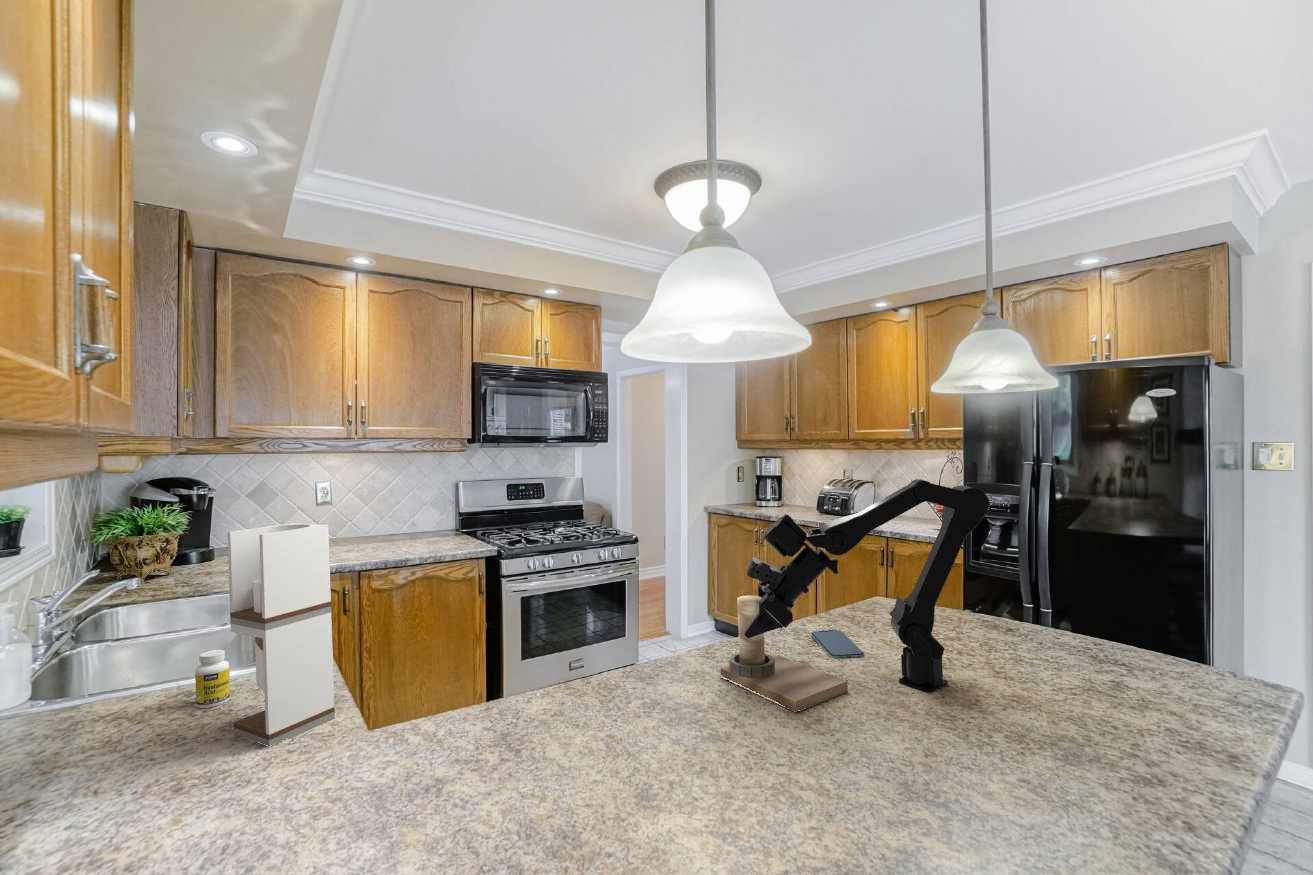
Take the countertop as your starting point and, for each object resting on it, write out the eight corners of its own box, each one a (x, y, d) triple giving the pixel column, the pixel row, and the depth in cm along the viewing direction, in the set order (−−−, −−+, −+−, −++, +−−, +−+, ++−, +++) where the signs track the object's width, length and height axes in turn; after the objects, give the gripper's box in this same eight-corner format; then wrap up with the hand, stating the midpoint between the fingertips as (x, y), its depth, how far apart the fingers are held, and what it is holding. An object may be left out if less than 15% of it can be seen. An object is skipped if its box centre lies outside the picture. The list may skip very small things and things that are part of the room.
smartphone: (831, 655, 130) (809, 630, 145) (831, 663, 130) (810, 637, 145) (866, 653, 130) (841, 629, 145) (866, 661, 130) (841, 636, 145)
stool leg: (768, 666, 122) (765, 596, 121) (761, 675, 117) (758, 603, 117) (744, 662, 124) (741, 594, 124) (736, 671, 119) (733, 600, 119)
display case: (299, 707, 115) (293, 522, 115) (334, 717, 110) (328, 524, 110) (234, 734, 105) (227, 532, 105) (269, 747, 100) (262, 534, 100)
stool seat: (847, 691, 113) (846, 670, 113) (795, 713, 105) (794, 689, 105) (770, 661, 129) (769, 642, 129) (720, 677, 122) (719, 658, 122)
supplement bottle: (201, 711, 114) (199, 659, 114) (191, 704, 118) (190, 654, 118) (234, 701, 119) (233, 651, 119) (224, 694, 122) (223, 646, 122)
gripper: (768, 536, 129) (718, 588, 131) (771, 553, 111) (713, 613, 112) (807, 573, 128) (756, 625, 129) (817, 596, 109) (758, 656, 111)
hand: (746, 628), depth 121 cm, fingers open, 9 cm apart
